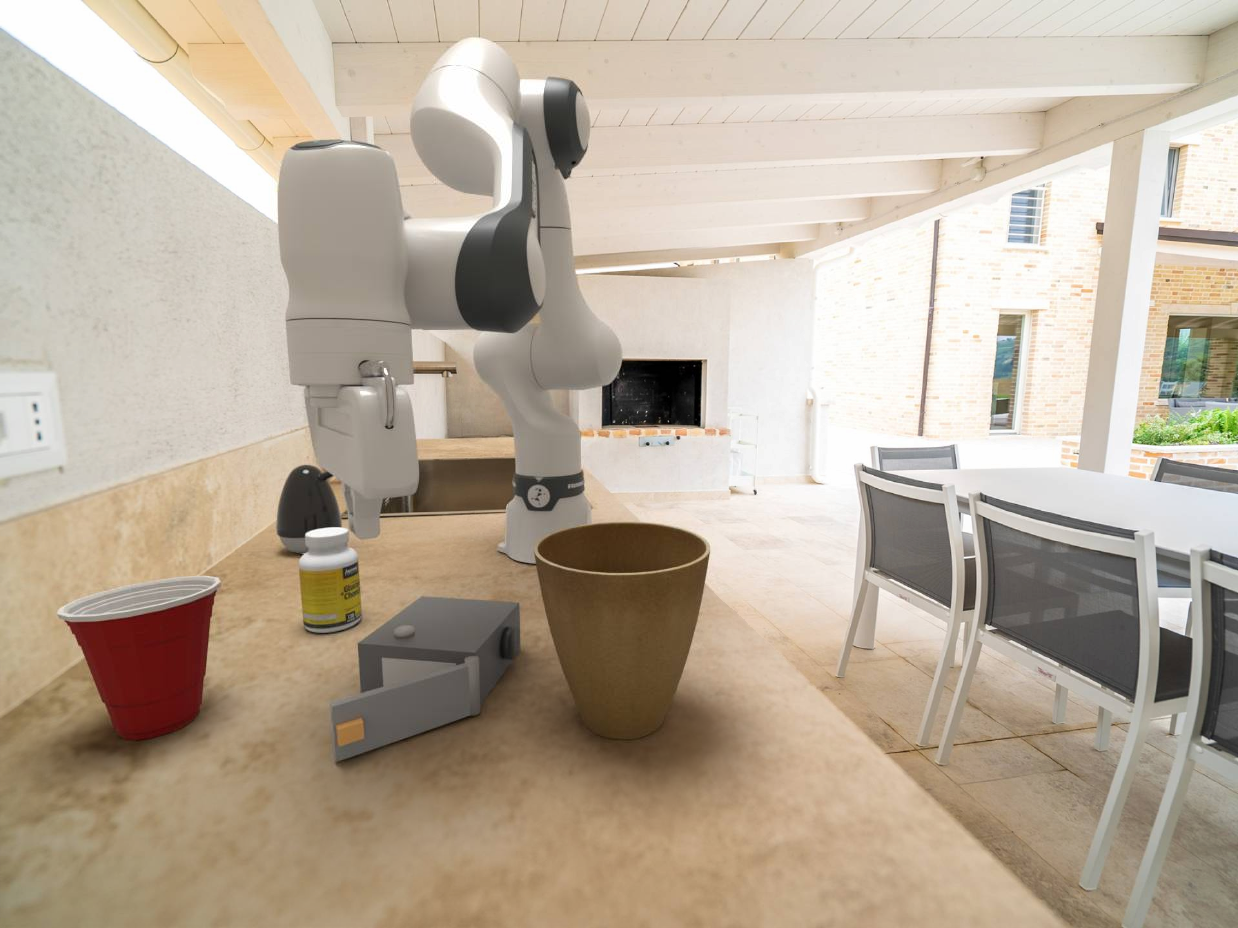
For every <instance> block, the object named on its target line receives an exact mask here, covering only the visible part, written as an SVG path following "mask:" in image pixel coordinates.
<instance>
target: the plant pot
mask: <svg viewBox="0 0 1238 928" xmlns="http://www.w3.org/2000/svg"><path fill="white" fill-rule="evenodd" d="M534 555H535V561H536V564H535V565H536V566H535V567H536V571H537V578H538V582H539V587H540V593H541V596H542V597H541V598H542V603H543V607H544V611H545V615H546V619H547V624H548V628H549V631H550V635H551V638H552V641H553V645H554V648H555V651H556V655H557V657H558V660H559V663H560V666H561V671H562V673H563V675H564V678H565V681H566V683H567V686H568V688H569V691H570V693H571V696H572V698H573V700H574V704H575V705H576V708H577V710H578V712H579V714H580V717H581V719H582V721H583V724H584V725H585V726H586V727H587V728H588V730H590V731H592V732H593V733H594V734H596V735H598V736H601V737H604V738H608V739H613V740H634V739H640V738H642V737H645V736H648V735H650V734H652V733H654V732H655V731H656V730H658V729H659V728H660V727H661V726H662V724H663V723H664V721H665V718H666V716H667V714H668V712H669V709H670V706H671V704H672V702H673V700H674V697H675V695H676V693H677V689H678V686H679V684H680V680H681V678H682V676H683V672H684V669H685V666H686V663H687V659H688V657H689V654H690V651H691V646H692V644H693V640H694V636H695V631H696V627H697V623H698V618H699V615H700V609H701V607H702V606H701V604H702V602H703V601H702V600H703V595H704V589H705V584H706V578H707V573H708V566H709V560H710V555H711V545H710V543H709V542H708V540H707V539H705V538H704V537H702V536H701V535H700V534H698V533H696V532H695V531H691V530H689V529H685V528H683V527H679V526H674V525H670V524H661V523H656V522H655V523H654V522H643V521H606V522H595V523H593V522H592V524H585V525H579V526H574V527H570V528H566V529H561V530H558V531H556V532H553V533H550V534H548V535H546V536H544V537H543V538H541V539H540V540H539V541H538V542H537V543H536V544H535V546H534Z"/></svg>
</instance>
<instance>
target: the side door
mask: <svg viewBox="0 0 1238 928" xmlns="http://www.w3.org/2000/svg"><path fill="white" fill-rule="evenodd" d="M329 708H330V709H329V710H330V721H331V733H332V735H331V736H332V745H333V746H332V748H333V758H334V761H335V762H336V763H337V762H340V761H343V760H346V759H349V758H352V757H355V756H357V755H361V754H364V753H366V752H369V751H372V750H374V749H379V748H380V747H383V746H387V745H389V744H392V743H395V742H398V741H400V740H403V739H406V738H410V737H412V736H415V735H418V734H421V733H424V732H427V731H430V730H432V729H435V728H439V727H442V726H444V725H448V724H451V723H453V722H455V721H459V720H462V719H463V718H464V719H465V718H466V717H469V716H477V715H479V714H480V713H481V705H480V684H479V658H478V657H477V656H468V657H466V658H465V663H463V664H460V665H456V666H453V667H449V668H446V669H442V670H439V671H435V672H432V673H429V674H425V675H422V676H418V677H415V678H411V679H408V680H405V681H401V682H398V683H394V684H391V685H387V686H384V687H381V688H377V689H374V690H370V691H367V692H363V693H361V692H360V693H356V694H353V695H349V696H346V697H343V698H340V699H337V700H333V701H330V702H329Z"/></svg>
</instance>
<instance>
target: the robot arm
mask: <svg viewBox="0 0 1238 928" xmlns="http://www.w3.org/2000/svg"><path fill="white" fill-rule="evenodd" d="M409 121H410V123H409V129H410V136H411V140H412V143H413V147H414V149H415V151H416V153H417V155H418V157H419V159H420V160H421V162H422V163H423V165H424V166H425V167H426V169H427V170H428V171H429V173H431V175H433V176H434V177H435V178H436V179H437V180H439V181H440V182H441V183H442V184H444V185H445V186H447V187H449V188H450V189H452V190H455V191H457V192H459V193H464V194H467V195H468V194H470V195H477V196H484V197H491V198H492V208H491V209H489V210H487V211H484V212H481V213H477V214H472V215H471V214H470V215H463V216H460V215H459V216H444V217H441V216H440V217H423V218H421V217H419V218H418V217H417V218H413V217H412V216H411V215H410V214H409V213H408V212H406V209H404V206H403V201H402V194H401V189H400V182H399V178H398V172H397V168H396V164H395V161H394V157H393V156H392V154H391V153H390V152H389V151H387V150H385V149H383V148H381V147H380V146H378V145H375V144H372V143H368V142H363V141H359V140H353V139H352V140H346V139H340V138H339V139H318V140H317V139H316V140H308V141H301V142H298V143H295V145H293V146H291V147H289V148H288V149H287V150H286V151H285V153H283V157H282V161H281V165H280V167H279V168H280V169H279V176H278V185H277V187H278V188H277V189H278V190H277V227H278V229H277V231H278V244H279V254H280V255H279V256H280V263H281V266H282V268H283V270H284V274H285V275H286V276H285V277H286V280H287V285H288V302H287V307H286V310H285V315H284V316H285V317H284V318H285V330H286V331H285V333H286V345H287V357H288V358H287V359H288V370H289V381H290V384H291V385H292V386H299V387H304V388H303V395H304V404H305V410H306V416H307V422H308V428H309V434H310V439H311V444H312V448H313V452H314V457H315V460H316V462H317V464H318V466H319V467H321V468H322V470H323V469H324V470H325V472H327V471H328V472H329V473H330V474H332V475H333V477H334V478H336V479H338V480H339V481H340V484H341V485H340V486H341V492H342V496H343V500H344V504H345V507H346V513H347V523H348V531H350V532H351V533H352V534H353V535H354V536H355V537H356V538H357V539H358V540H361V541H364V540H368V539H376V538H378V537H379V536H380V534H381V523H380V520H381V518H380V516H381V511H382V505H383V501H384V499H393V498H399V497H406V496H407V497H408V496H412V495H414V494H416V492H417V490H418V485H419V481H420V467H419V465H420V464H419V457H418V456H419V455H418V444H417V435H416V434H417V433H416V427H415V416H414V411H413V405H412V400H411V398H410V394H409V392H408V391H407V389H406V388H404V387H402V386H407V385H409V386H410V385H414V384H415V373H414V357H413V356H414V353H413V335H412V330H422V331H452V330H453V331H455V330H457V331H458V330H459V331H460V330H461V331H465V330H466V331H467V330H469V331H470V330H471V331H472V330H474V331H477V332H478V331H479V332H481V333H480V335H479V336H478V337H477V339H476V341H475V343H474V347H473V352H472V354H473V355H472V360H473V365H474V368H475V371H476V373H477V375H478V376H479V378H480V379H481V380H482V382H483V383H484V384H486V385H487V386H488V387H489V388H491V390H492V391H494V393H495V394H496V395H497V396H498V397H499V399H500V401H501V402H502V404H503V407H504V408H505V410H506V412H507V415H508V417H509V419H510V420H509V421H510V424H511V428H512V434H513V443H514V447H513V448H514V458H515V459H514V462H515V472H514V473H513V475H512V486H513V487H512V488H513V491H512V492H513V494H514V497H513V499H511V501H509V502H508V503H507V504H506V505H505V506H506V507H505V522H504V524H505V525H504V526H505V528H504V541H502V542H499V543H498V544H497V551H498V552H500V553H503V554H506V555H507V556H508V557H509V558H510V559H512V560H514V561H517V562H521V563H526V564H527V563H528V564H535V565H536V561H535V555H534V546H535V544H536V543H537V542H538V541H539V540H540V539H541V538H543V537H544V536H546V535H548V534H550V533H553V532H556V531H558V530H561V529H566V528H570V527H574V526H579V525H585V524H593V522H592V506H591V504H590V502H589V500H588V499H587V497H586V495H585V493H584V492H585V490H586V489H585V478H584V476H585V472H584V469H583V468H582V463H581V459H582V456H581V453H582V452H581V450H582V447H581V438H582V437H581V431H580V428H579V426H578V423H576V421H575V420H574V419H573V418H572V417H571V416H569V415H567V414H566V413H564V412H562V411H560V410H559V409H558V408H557V406H556V405H555V404H554V401H553V399H552V396H551V391H552V390H553V391H556V390H557V391H585V390H590V389H596V388H600V387H604V386H608V385H610V384H611V383H612V382H613V381H615V379H616V377H617V376H618V374H619V373H620V369H621V366H622V362H623V350H622V344H621V342H620V339H619V337H618V335H617V334H616V333H615V332H614V330H613V329H612V328H611V327H610V326H609V325H607V324H606V323H605V322H603V321H602V320H601V319H600V318H598V316H596V314H595V313H594V312H593V311H592V309H591V308H590V306H589V305H588V303H587V302H586V300H585V298H584V296H583V294H582V292H581V289H580V286H579V284H578V283H579V281H578V278H577V273H576V266H575V265H576V264H575V258H574V257H575V256H574V248H573V247H574V246H573V237H572V236H573V234H572V222H571V221H572V219H571V213H570V205H569V199H568V195H567V194H568V193H567V189H566V185H565V181H566V180H568V179H569V178H570V177H571V174H572V172H573V169H574V168H576V167H578V166H579V165H580V163H581V161H582V160H583V159H584V157H585V155H586V153H587V151H588V148H589V147H588V146H589V139H590V135H591V117H590V112H589V108H588V105H587V102H586V101H585V98H584V96H583V92H582V90H581V89H580V87H579V86H578V85H577V84H576V83H575V81H573V80H572V79H567V78H563V77H556V76H548V77H546V79H537V78H530V79H529V78H521V79H520V74H519V71H518V69H517V67H516V64H515V63H514V60H513V59H512V58H511V56H510V55H509V53H508V52H506V51H505V49H504V48H503V47H501V46H500V45H499V44H497V43H495V42H494V41H492V40H490V39H486V38H483V37H479V36H477V37H476V36H475V37H466V38H463V39H461V40H459V41H457V42H456V43H455V44H453V45H452V46H450V47H449V49H447V50H446V51H445V52H444V53H443V54H442V55H441V56H440V57H439V58H438V60H437V61H436V62H435V63H434V65H433V66H432V67H431V69H429V72H428V73H427V75H426V77H425V79H424V80H423V82H422V84H421V86H420V88H419V90H418V92H417V93H416V96H415V98H414V101H413V104H412V107H411V112H410V119H409ZM537 314H538V317H539V321H540V322H535V323H534V322H532V323H529V322H531V321H532V320H533V319H534V318H535V316H537Z"/></svg>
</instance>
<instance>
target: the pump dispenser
mask: <svg viewBox="0 0 1238 928" xmlns="http://www.w3.org/2000/svg"><path fill="white" fill-rule="evenodd" d="M333 477H334V476H333V475H332V474H330V473H329V472H328V471H325V472H323V471H322V470H321V469H320V468H318V467H317V466H316V465H315V466H314V465H311V464H302V465H301V464H300V465H298V466H296V467H295V468H293V469H292V470H291V472H289V474H288V476H287V478H286V479H285V481H284V485H283V487H282V490H281V493H280V495H279V501H278V505H277V513H276V525H275V527H276V535H277V536H278V537H279V540H280V542H281V544H282V545H283V546H284V547H285V548H286V549H287V550H288V551H290V552H292V553H295V554H299V553H307V552H308V551H309V548H308V547H307V546H306V543H305V534H306V533H307V532H309V531H312V530H316V529H321V528H330V527H341V528H343V522H342V521H343V520H342V515H341V510H340V507H339V503H338V500H337V497H336V494H335V492H334V489H333V487H332V486H331V484H330V482H329V480H330V479H331V478H333ZM328 479H329V480H328Z"/></svg>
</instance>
